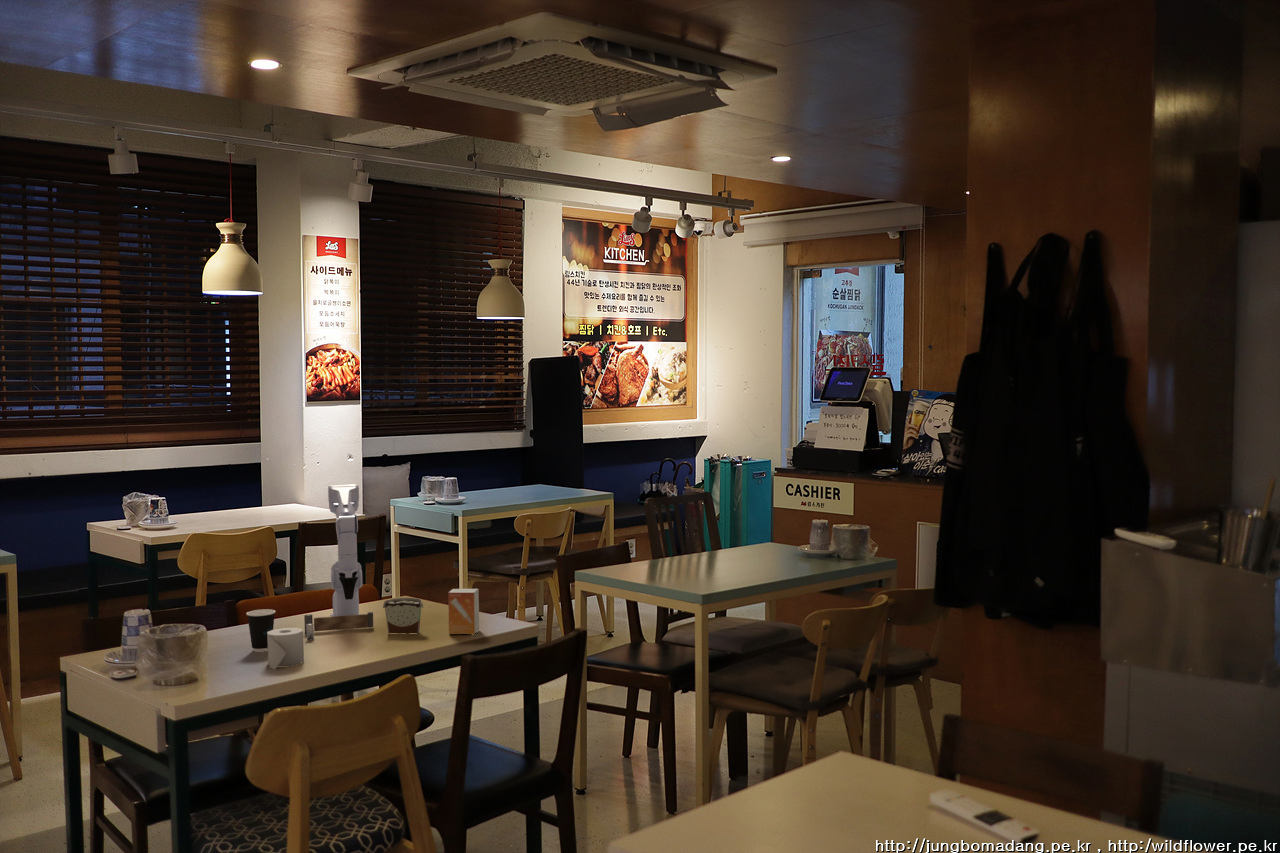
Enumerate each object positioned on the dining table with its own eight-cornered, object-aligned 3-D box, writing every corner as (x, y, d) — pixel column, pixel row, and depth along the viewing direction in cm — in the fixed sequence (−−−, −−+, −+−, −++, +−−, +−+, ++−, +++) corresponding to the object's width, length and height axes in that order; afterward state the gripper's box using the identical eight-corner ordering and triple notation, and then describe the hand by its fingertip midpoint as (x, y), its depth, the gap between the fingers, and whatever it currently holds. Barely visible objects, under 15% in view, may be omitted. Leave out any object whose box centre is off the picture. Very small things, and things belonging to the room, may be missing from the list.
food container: (429, 629, 335) (428, 597, 335) (423, 634, 329) (422, 601, 328) (390, 629, 336) (389, 597, 336) (383, 634, 330) (382, 601, 330)
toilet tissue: (271, 671, 287) (270, 639, 287) (267, 660, 300) (266, 629, 299) (306, 667, 291) (306, 636, 291) (301, 657, 303) (300, 626, 303)
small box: (448, 635, 327) (447, 592, 326) (453, 630, 333) (452, 588, 332) (475, 635, 326) (474, 592, 326) (479, 630, 332) (478, 588, 332)
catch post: (305, 639, 325) (305, 624, 325) (312, 638, 326) (312, 623, 326) (308, 640, 323) (307, 625, 323) (314, 639, 324) (314, 624, 324)
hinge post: (303, 632, 333) (303, 615, 333) (311, 631, 335) (310, 614, 334) (306, 634, 331) (305, 616, 331) (314, 633, 333) (313, 615, 333)
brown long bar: (314, 631, 333) (313, 616, 332) (314, 630, 334) (313, 615, 334) (373, 627, 337) (373, 612, 337) (373, 626, 339) (372, 611, 339)
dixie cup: (250, 647, 315) (249, 609, 315) (278, 646, 317) (277, 608, 316) (245, 654, 307) (243, 615, 307) (274, 652, 309) (273, 614, 308)
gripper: (334, 551, 346) (335, 593, 347) (334, 558, 332) (335, 602, 333) (356, 549, 348) (358, 592, 349) (358, 556, 334) (359, 600, 335)
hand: (348, 597), depth 341 cm, fingers open, 7 cm apart
